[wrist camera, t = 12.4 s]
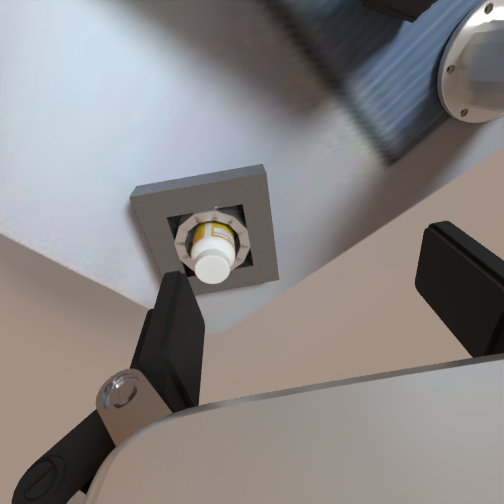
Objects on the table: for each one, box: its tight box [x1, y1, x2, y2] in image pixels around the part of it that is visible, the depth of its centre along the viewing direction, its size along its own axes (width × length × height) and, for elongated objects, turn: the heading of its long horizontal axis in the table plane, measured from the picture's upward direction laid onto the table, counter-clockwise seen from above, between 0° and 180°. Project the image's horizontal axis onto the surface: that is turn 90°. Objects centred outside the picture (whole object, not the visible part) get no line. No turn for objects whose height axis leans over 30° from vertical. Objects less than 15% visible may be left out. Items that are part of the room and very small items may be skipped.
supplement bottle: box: [191, 220, 235, 284], centre depth 37 cm, size 5×5×10 cm
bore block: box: [130, 164, 279, 295], centre depth 39 cm, size 16×16×4 cm
